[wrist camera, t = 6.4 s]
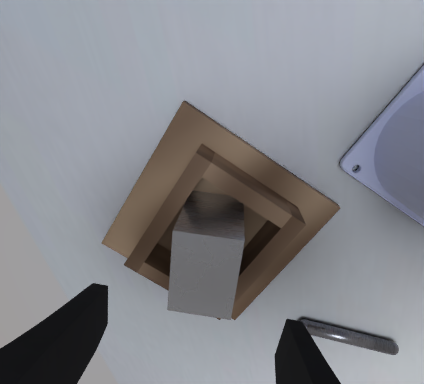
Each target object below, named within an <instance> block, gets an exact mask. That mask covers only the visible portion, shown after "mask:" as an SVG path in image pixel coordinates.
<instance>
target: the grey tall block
mask: <svg viewBox="0 0 424 384" xmlns="http://www.w3.org/2000/svg"><path fill="white" fill-rule="evenodd" d="M244 242H245V233H244V204H243V203H241V202H239V201H238V200H236V199H235V198H233V197H232V196H230V195H223V194H216V193H208V192H201V191H194V190H193V191H192V192H191V194H190V195H189V197H188V198H187V200H186V202H185V204H184V207H183V209H182V211H181V213H180V215H179V218H178V220H177V222H176V224H175V227H174V229H173V233H172V248H171V264H170V279H169V294H168V310H171V311H177V312H183V313H190V314H196V315H203V316H209V317H216V318H222V319H228V320H231V316H232V310H233V304H234V299H235V293H236V288H237V282H238V276H239V271H240V265H241V259H242V254H243V248H244Z"/></svg>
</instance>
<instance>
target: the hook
mask: <svg viewBox="0 0 424 384" xmlns="http://www.w3.org/2000/svg"><path fill="white" fill-rule="evenodd" d="M300 321H301V322H303V324H304V325H305V327H306V328H307V330H308V332H309V333H310V335H314V336H318V337H322V338H326V339H330V340H334V341H338V342H342V343H346V344H350V345H354V346H358V347H362V348H366V349H370V350H374V351H378V352H382V353H386V354H390V355H396V354H397V353H398V351H399V348H398V345H397V344H396V343H395V342H393V341H390V340H386V339H382V338H378V337H374V336H370V335H366V334H362V333H358V332H354V331H350V330H346V329H342V328H338V327H334V326H330V325H326V324H322V323H318V322H314V321H310V320H306V319H302V320H300Z"/></svg>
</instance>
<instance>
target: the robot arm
mask: <svg viewBox="0 0 424 384" xmlns="http://www.w3.org/2000/svg"><path fill="white" fill-rule="evenodd" d="M355 165H359V168H358V169H357V170H356V171H352V168H353V166H355ZM340 167H341V168H342V169H343V170H344V171H345V172H347V173H348V174H350V175H351V176H352V177H354V178H355V179H357V180H358V181H360V182H361V183H362V184H364V185H365V186H367V187H368V188H370V189H371V190H372V191H374V192H375V193H377V194H378V195H379V196H381V197H382V198H384V199H385V200H387V201H388V202H389V203H391V204H392V205H394V206H395V207H397V208H398V209H399V210H401V211H402V212H404V213H405V214H407V215H408V216H409V217H411V218H412V219H414V220H415V221H417V222H418V223H419V224H421V225H422V226H424V65H423V66H422V67H421V69H420V70H419V71H418V72H417V73H416V74H415V75H414V77H413V78H412V79H411V80H410V81H409V82H408V83H407V85H406V86H405V87H404V88H403V89H402V90H401V92H400V93H399V94H398V95H397V96H396V97H395V98H394V100H393V101H392V102H391V103H390V104H389V105H388V106H387V108H386V109H385V110H384V111H383V112H382V113H381V114H380V116H379V117H378V118H377V119H376V120H375V121H374V122H373V124H372V125H371V126H370V127H369V128H368V129H367V130H366V132H365V133H364V134H363V135H362V136H361V137H360V138H359V140H358V141H357V142H356V143H355V144H354V145H353V146H352V148H351V149H350V150H349V151H348V152H347V153H346V154H345V156H344V157H343V158H342V159H341V161H340ZM107 324H108V286H106V285H100V284H95V283H93V284H91V285H90V286H88V287H87V288H86V289H84V290H83V291H82V292H81V293H79V294H78V295H77V296H75V297H74V298H73V299H71V300H70V301H69V302H67V303H66V304H65V305H64V306H62V307H61V308H60V309H58V310H57V311H55V312H54V313H53V314H51V315H50V316H49V317H47V318H46V319H45V320H43V321H42V322H40V323H39V324H37V325H36V326H34V327H33V328H31V329H30V330H29V331H27V332H25V333H24V334H22V335H21V336H19V337H18V338H16V339H15V340H13V341H12V342H10V343H9V344H7V345H5V346H4V347H2V348H1V349H0V384H77V383H78V381H79V379H80V377H81V376H82V374H83V372H84V371H85V369H86V367H87V365H88V364H89V362H90V360H91V358H92V357H93V355H94V353H95V351H96V349H97V347H98V345H99V343H100V340H101V338H102V336H103V334H104V331H105V329H106V327H107ZM275 373H276V384H341V383H340V382H339V380H338V379H337V377H336V375H335V374H334V372H333V371H332V369H331V368H330V366H329V365H328V363H327V362H326V360H325V358H324V357H323V355H322V353H321V352H320V350H319V349H318V347H317V345H316V344H315V342H314V340H313V339H312V337H311V335H310V333H309V332H308V330H307V328H306V327H305V325H304V324H303V322H301V321H296V320H290V319H287V320H286V323H285V326H284V329H283V332H282V335H281V338H280V341H279V344H278V347H277V350H276V353H275Z"/></svg>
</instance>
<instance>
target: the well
mask: <svg viewBox="0 0 424 384" xmlns="http://www.w3.org/2000/svg"><path fill="white" fill-rule="evenodd" d="M193 190H194V191H201V192H208V193H216V194H223V195H230V196H232V197H233V198H235V199H236V200H238V201H239V202H241V203H243V204H244V233H245V242H244V248H243V254H242V259H241V265H240V271H239V276H238V282H237V288H236V293H235V299H234V304H233V310H232V316H231V318H232V319H234V320H235V319H236V318H237V317H238V316H239V315H240V314H241V313H242V312H243V311H244V310H245V309H246V308H247V307H248V306H249V305H250V304H251V302H252V301H253V300H254V299H255V298H256V297H257V296H258V295H259V294H260V293H261V292H262V291H263V290H264V289H265V288H266V287H267V286H268V284H269V283H270V282H271V281H272V280H273V279H274V278H275V277H276V276H277V275H278V274H279V273H280V272H281V271H282V270H283V269H284V268H285V266H286V265H287V264H288V263H289V262H290V261H291V260H292V259H293V258H294V257H295V256H296V255H297V254H298V253H299V252H300V251H301V249H302V248H303V247H304V246H305V245H306V244H307V243H308V242H309V241H310V240H311V239H312V238H313V237H314V236H315V235H316V234H317V233H318V231H319V230H320V229H321V228H322V227H323V226H324V225H325V224H326V223H327V222H328V221H329V220H330V219H331V218H332V217H333V216H334V215H335V213H336V212H337V211H338V210H339V209H340V207H339V205H338V204H336V203H335V202H333V201H332V200H331V199H329V198H328V197H326V196H325V195H323V194H322V193H320V192H319V191H317V190H316V189H314V188H313V187H311V186H310V185H308V184H307V183H305V182H304V181H303V180H301V179H300V178H298V177H297V176H295V175H294V174H292V173H291V172H289V171H288V170H286V169H285V168H283V167H282V166H280V165H279V164H278V163H276V162H275V161H273V160H272V159H270V158H269V157H267V156H266V155H264V154H263V153H261V152H260V151H258V150H257V149H255V148H254V147H252V146H251V145H250V144H248V143H247V142H245V141H244V140H242V139H241V138H239V137H238V136H236V135H235V134H233V133H232V132H230V131H229V130H227V129H226V128H224V127H223V126H222V125H220V124H219V123H217V122H216V121H214V120H213V119H211V118H210V117H208V116H207V115H205V114H204V113H202V112H201V111H199V110H198V109H196V108H195V107H194V106H192V105H191V104H189V103H188V102H186V101H183V102H182V104H181V106H180V108H179V109H178V111H177V113H176V115H175V116H174V118H173V120H172V122H171V123H170V125H169V127H168V128H167V130H166V132H165V134H164V135H163V137H162V139H161V141H160V142H159V144H158V146H157V148H156V149H155V151H154V153H153V154H152V156H151V158H150V160H149V161H148V163H147V165H146V167H145V168H144V170H143V172H142V174H141V175H140V177H139V179H138V180H137V182H136V184H135V186H134V187H133V189H132V191H131V193H130V194H129V196H128V198H127V200H126V201H125V203H124V205H123V206H122V208H121V210H120V212H119V213H118V215H117V217H116V219H115V220H114V222H113V224H112V226H111V227H110V229H109V231H108V232H107V234H106V236H105V238H104V239H103V241H102V244H104V245H106V246H107V247H109V248H111V249H113V250H114V251H116V252H118V253H119V254H121V255H123V256H125V257H126V258H128V259H127V261H126V262H125V264H124V265H125V266H127V267H128V268H130V269H132V270H133V271H135V272H137V273H139V274H140V275H142V276H144V277H146V278H147V279H149V280H151V281H153V282H154V283H156V284H158V285H160V286H161V287H163V288H165V289H167V290H168V291H169V279H170V264H171V248H172V233H173V229H174V227H175V224H176V222H177V220H178V218H179V215H180V213H181V211H182V209H183V207H184V204H185V202H186V200H187V198H188V197H189V195H190V194H191V192H192V191H193ZM217 319H219V320H220V319H221V318H217Z"/></svg>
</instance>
